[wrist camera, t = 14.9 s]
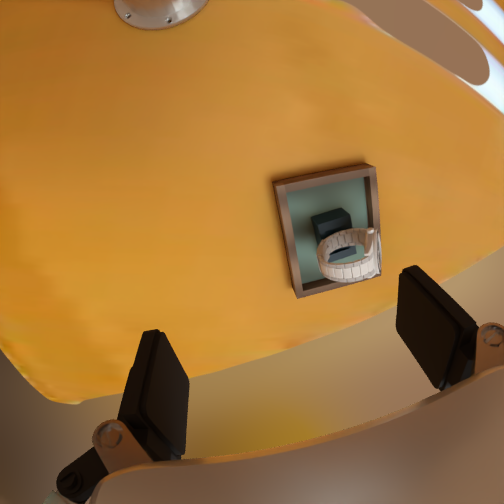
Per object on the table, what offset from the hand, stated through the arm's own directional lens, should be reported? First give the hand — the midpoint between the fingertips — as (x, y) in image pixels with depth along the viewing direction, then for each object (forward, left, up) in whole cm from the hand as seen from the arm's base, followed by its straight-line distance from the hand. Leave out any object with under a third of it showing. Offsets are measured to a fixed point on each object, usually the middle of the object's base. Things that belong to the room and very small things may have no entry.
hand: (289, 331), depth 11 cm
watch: (+9, +10, -27) cm, 30 cm away
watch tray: (+9, +10, -28) cm, 31 cm away
